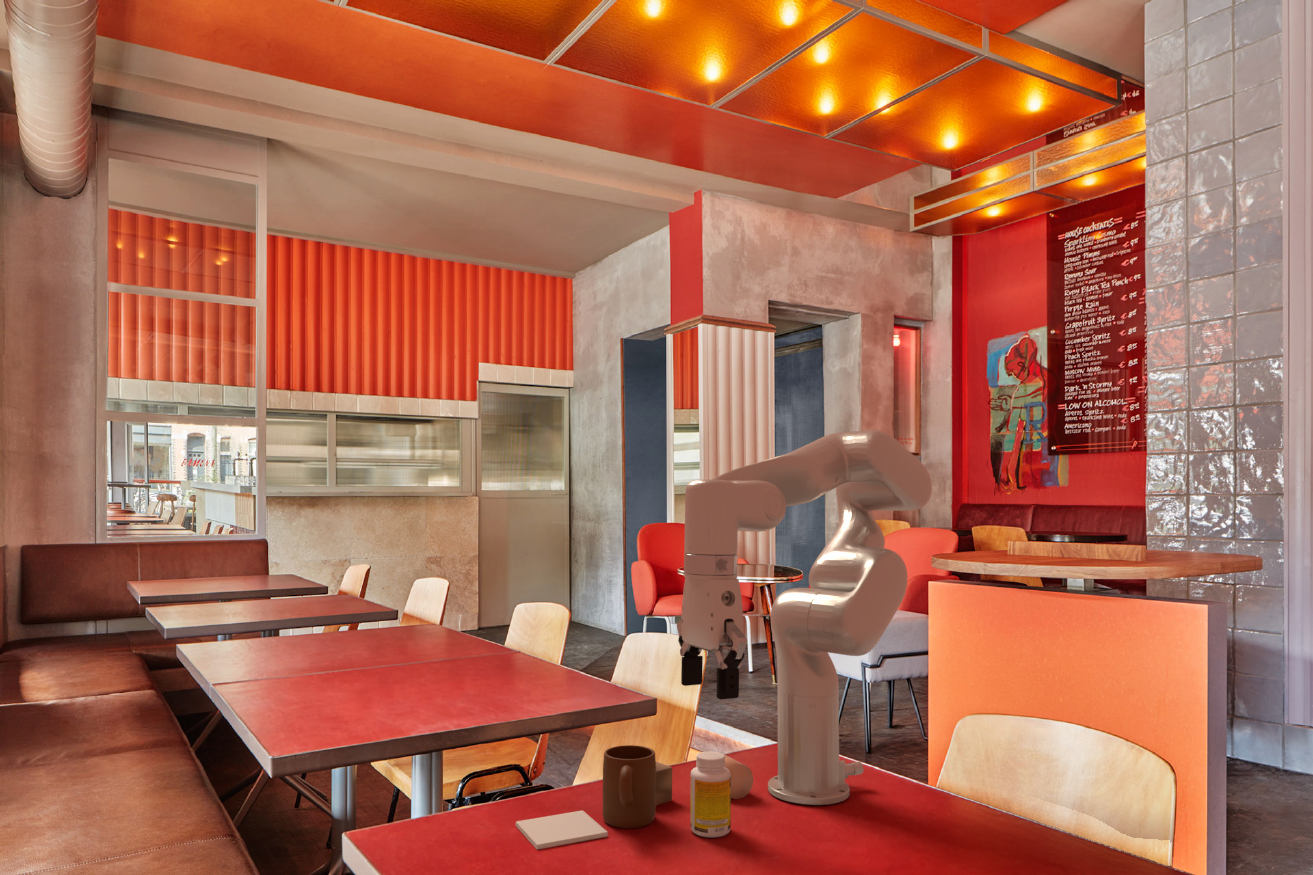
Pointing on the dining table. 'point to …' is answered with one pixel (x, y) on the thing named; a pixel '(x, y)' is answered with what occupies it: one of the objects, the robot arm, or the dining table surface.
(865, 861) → the dining table surface
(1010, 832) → the dining table surface
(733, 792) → the capsule
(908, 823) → the dining table surface
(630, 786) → the mug
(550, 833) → the coaster
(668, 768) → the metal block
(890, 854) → the dining table surface
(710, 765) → the supplement bottle
